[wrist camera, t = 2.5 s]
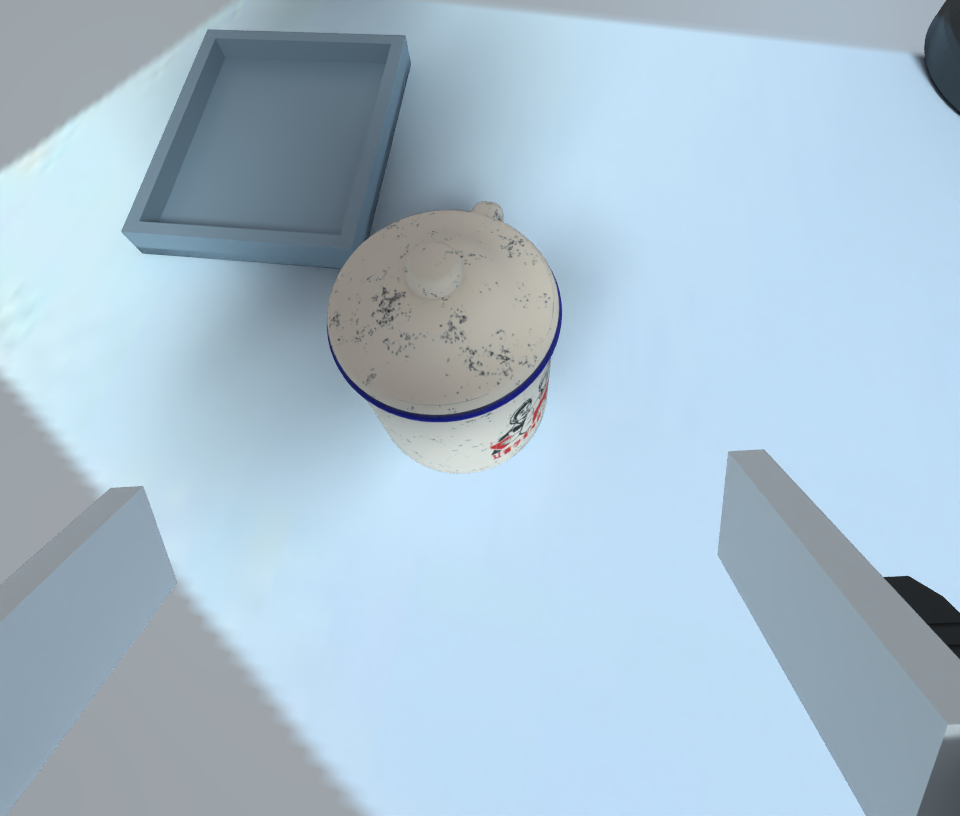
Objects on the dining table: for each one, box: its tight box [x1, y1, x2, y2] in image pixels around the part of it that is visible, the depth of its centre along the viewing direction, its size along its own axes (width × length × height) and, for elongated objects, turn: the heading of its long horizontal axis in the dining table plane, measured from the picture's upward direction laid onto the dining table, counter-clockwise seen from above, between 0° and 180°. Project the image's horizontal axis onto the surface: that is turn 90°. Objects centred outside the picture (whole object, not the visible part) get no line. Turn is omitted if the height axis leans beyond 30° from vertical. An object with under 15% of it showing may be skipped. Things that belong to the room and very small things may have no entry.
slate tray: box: [121, 30, 411, 268], centre depth 36 cm, size 14×17×2 cm
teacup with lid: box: [327, 201, 562, 474], centre depth 25 cm, size 12×9×12 cm
